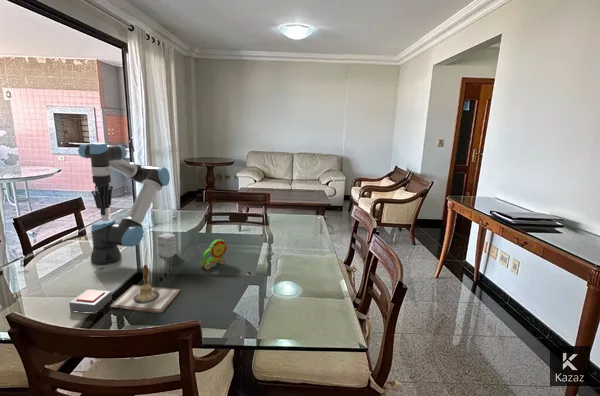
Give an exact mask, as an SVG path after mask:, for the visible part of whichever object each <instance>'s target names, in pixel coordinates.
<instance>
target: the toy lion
mask: <svg viewBox="0 0 600 396" xmlns="http://www.w3.org/2000/svg"><path fill="white" fill-rule="evenodd" d="M227 245H228V244H227V243H226V241H225V240H224V239H220V238H218V239H215V240H214V241H211V243H210V245H209V247H208V248H207V249H206V250H205V251H204V252H203V254H202V256H201V263H200V267H202V268H204V269H205V270H210V269H211V267H212V265H213V264H220V265H225V262H226V258H224V255H225V254H226V251H227V249H228V247H227ZM209 254H210V256H209V258H207V257H208V255H209Z"/></svg>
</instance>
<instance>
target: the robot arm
mask: <svg viewBox="0 0 600 396" xmlns="http://www.w3.org/2000/svg"><path fill="white" fill-rule="evenodd" d="M77 151H78V155H79V156H80V157H81V158H84V159H90V163H91V166H90V167H91V174H92V183H93V184H94V185H95V186H94V190H92V191H91V194H92V196H93V198H94V202H95V206H96V209H99V210H100V215H101V220H98V221H94V222H93V223H92V224H91V228H90V229H91V232H90V233H91V239H92V241H91V242H92V248H93V250H92V252H91V256H90V263H91V264H93V265H96V266H106V265H111V264H114V263H117V262H119V261H120V260H121V259H122V253H121V251H120V249H119V247H118V246H123V247H127V248H128V247H129V248H130V247H131V248H132V247H136V246H137V245H139V244H140V243H141V241H142V240H143V238H144V229H143V228H144V227H143V224H142V223H143V221H144V219H145V217H146V215H147V212H148V211H149V209H150V207H151V205H152V203H153V201H154V198H155V197H156V195H157V193H158V191H161V190H162V188H163V187H166V186H169V184H170V180H171V179H170V178H171V177H170V175H171V174H170V172H169V170H168V169H167V168H166V167H163V166H154V165H144V164H143V165H142V164H137V163H134V162H129V161H127V160H125V158H126V157H127V154H128V152H127V149H126V148H125V147H124V146H123V145H120V144H118V145H117V144H115V145H110V144H108V143H106V142H92V143H88V142H87V143H81V144H80V145H79V146H78V150H77ZM110 170H115V172H116V171H117V172H119V173H121V174H122V175H123V177H126V178H128V179H129V180H132V181H134V182H137V183H139V184H142V187H141V189H140V191H139V192H138V194H137V197H136V198H135V200H134V201H133V204H132V206H131V208H130V210H129V211H128V214H127V215H126V217H124V218H122V219H121V220H120V222H119V223H116V220H115V219H112V218H110V217H109V208H111V205H112V198H113V197H112V196H113V193H112V192H113V189H114V186H111V185H110V183H111V175H110V174H111V171H110ZM109 218H110V219H109Z"/></svg>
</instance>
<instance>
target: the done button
mask: <svg viewBox="0 0 600 396" xmlns="http://www.w3.org/2000/svg"><path fill="white" fill-rule="evenodd" d="M102 295H104V292H100V291H87V292H86V293H84V294H83V295H82V296H80V297H79V298H78V299H77V301H82V302H93V303H94V302H95V301H96V300H97V299H99V298H100V297H101V296H102Z"/></svg>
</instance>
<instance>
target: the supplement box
mask: <svg viewBox="0 0 600 396" xmlns="http://www.w3.org/2000/svg"><path fill="white" fill-rule="evenodd" d="M157 240H158V241H157V242H158V243H157V244H158V245H157V246H158V255H159V256H161V257H163V258H166V259H168V258H171V257H173V256H176V255H177V235H176V234H173V233H169V232H166V233H162V234H160V235H157ZM175 254H176V255H175Z"/></svg>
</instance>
